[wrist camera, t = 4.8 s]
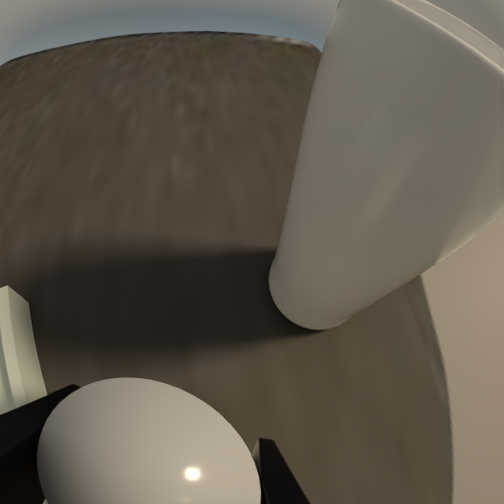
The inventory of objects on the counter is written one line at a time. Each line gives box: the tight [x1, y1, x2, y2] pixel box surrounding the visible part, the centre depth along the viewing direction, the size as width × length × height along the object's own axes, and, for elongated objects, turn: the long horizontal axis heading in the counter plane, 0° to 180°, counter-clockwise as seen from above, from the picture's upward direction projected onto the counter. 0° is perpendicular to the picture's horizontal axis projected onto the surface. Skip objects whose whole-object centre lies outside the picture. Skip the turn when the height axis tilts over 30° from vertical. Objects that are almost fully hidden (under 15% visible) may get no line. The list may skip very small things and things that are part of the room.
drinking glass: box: [269, 0, 504, 330], centre depth 11 cm, size 7×7×15 cm
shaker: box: [37, 378, 261, 504], centre depth 8 cm, size 5×5×9 cm
